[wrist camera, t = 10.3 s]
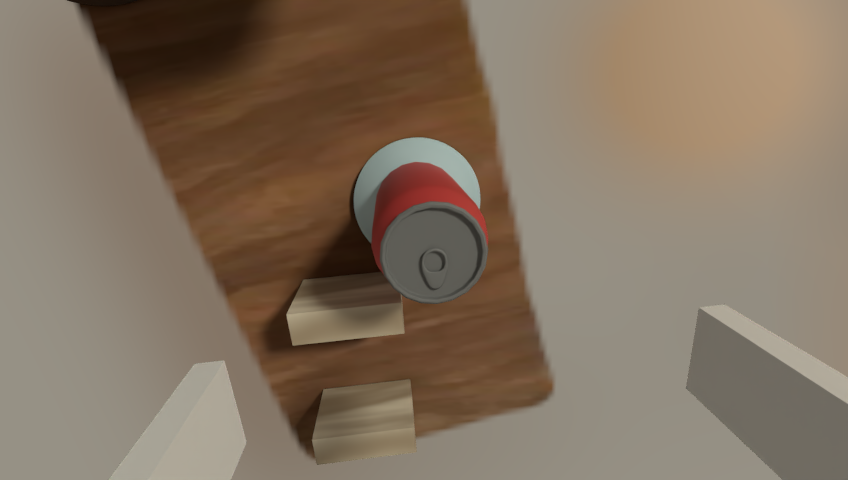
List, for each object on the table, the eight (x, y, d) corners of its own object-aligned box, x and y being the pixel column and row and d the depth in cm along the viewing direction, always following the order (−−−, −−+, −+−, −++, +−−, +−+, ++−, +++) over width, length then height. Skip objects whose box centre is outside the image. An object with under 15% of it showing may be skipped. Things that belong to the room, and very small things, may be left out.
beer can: (380, 245, 33) (376, 319, 22) (371, 163, 31) (362, 197, 19) (460, 238, 33) (498, 307, 22) (457, 157, 31) (497, 186, 20)
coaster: (346, 142, 31) (345, 143, 30) (476, 131, 31) (478, 132, 31) (362, 265, 34) (362, 268, 33) (480, 253, 34) (482, 255, 34)
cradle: (303, 279, 34) (286, 314, 28) (399, 269, 34) (401, 302, 29) (327, 411, 38) (316, 464, 32) (412, 401, 39) (416, 452, 33)
